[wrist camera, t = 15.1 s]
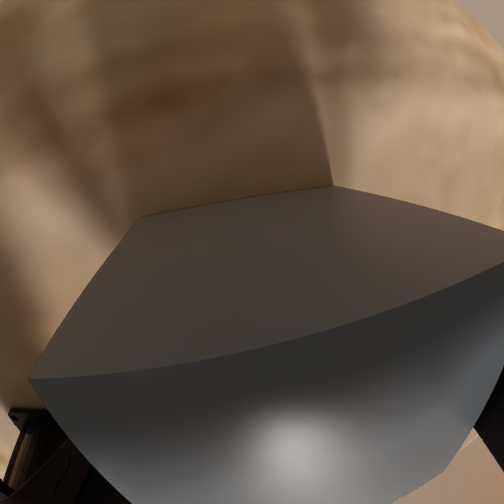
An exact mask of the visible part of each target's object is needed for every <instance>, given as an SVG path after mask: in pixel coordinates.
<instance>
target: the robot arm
mask: <svg viewBox="0 0 504 504" xmlns="http://www.w3.org/2000/svg"><path fill="white" fill-rule="evenodd" d="M8 416H9V418H10V419H11V420H12V422H13V423H14V424H15V425H16V427H17V428H18V429H19V430H20V434H19V437H18V439H17V442H16V444H15V447H14V450H13V453H12V455H11V458H10V461H9V464H8V467H7V470H6V473H5V476H4V479H3V482H2V479H0V504H132V503H131V502H130V501H129V500H128V499H126V498H125V497H124V496H123V495H122V494H121V493H120V492H119V491H118V490H117V489H116V488H115V487H113V486H112V485H111V484H110V483H109V482H108V481H107V480H106V479H105V478H104V477H103V476H102V475H101V474H100V473H99V471H98V470H97V469H96V468H95V467H94V466H93V465H92V464H91V463H90V462H89V461H88V460H87V459H86V457H85V456H84V455H83V454H82V453H81V452H80V451H79V449H78V448H77V447H76V446H75V445H74V443H73V442H72V441H71V440H70V439H69V437H68V436H67V435H66V433H65V432H64V431H63V430H62V428H61V427H60V426H59V424H58V423H57V422H56V420H55V419H54V418H53V416H52V415H51V413H50V412H49V411H48V410H36V409H17V408H11V409H10V410H9V413H8ZM473 427H474V429H475V430H476V432H477V433H478V434H479V436H480V437H481V439H483V442H484V443H485V445H486V446H487V447H488V449H489V451H490V452H491V454H492V455H493V456H494V458H495V459H496V461H497V463H498V464H499V465H500V467H501V469H502V470H503V472H504V367H503V369H502V371H501V374H500V376H499V378H498V380H497V382H496V385H495V387H494V389H493V391H492V393H491V395H490V397H489V399H488V401H487V403H486V405H485V407H484V409H483V410H482V412H481V414H480V416H479V418H478V419H477V421H476V423H475V425H474V426H473Z"/></svg>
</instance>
